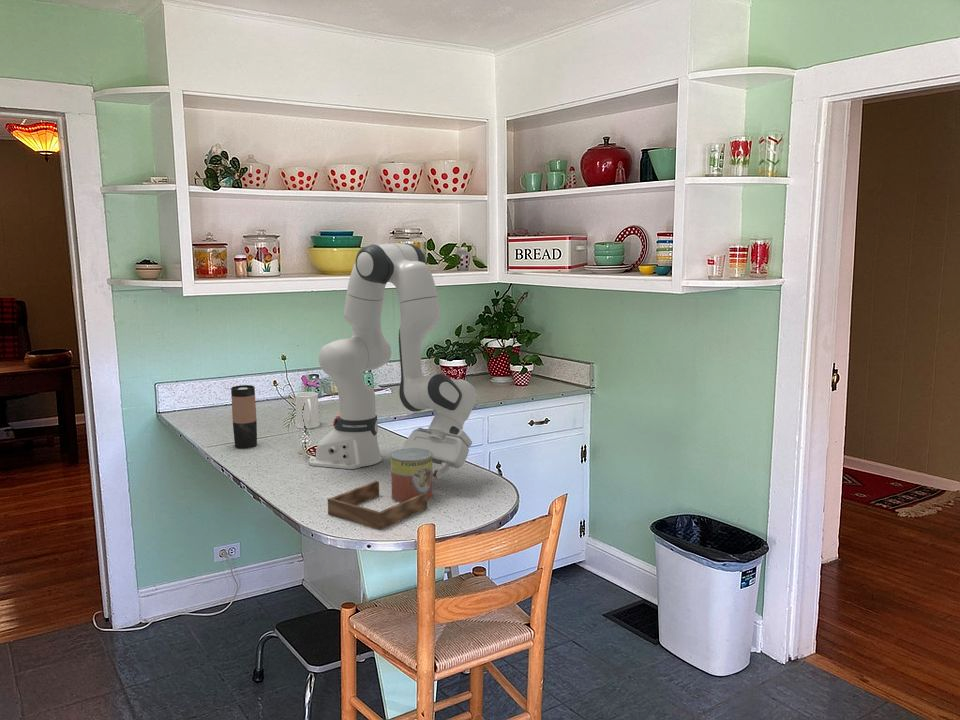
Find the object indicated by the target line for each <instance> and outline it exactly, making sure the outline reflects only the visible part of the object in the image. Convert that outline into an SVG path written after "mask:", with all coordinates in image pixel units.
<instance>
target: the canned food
mask: <svg viewBox="0 0 960 720" xmlns="http://www.w3.org/2000/svg"><path fill="white" fill-rule="evenodd" d="M390 477H391V499H392V501H394V502H396V503H398V502H399V503H401V502H404V501H406V500H408V499H411V498H413V497H415V496H418V495H420V494H422V493H427V502H429V501H430V499H431V500H432V499H433V497H434V493H433V491H434V490H433V463H432V452H431V451H429V450H425V449H418V448H409V449H402V448H400V449H397V450H394V451H392V452H391V453H390ZM399 503H398V504H399Z"/></svg>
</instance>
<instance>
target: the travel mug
mask: <svg viewBox="0 0 960 720" xmlns="http://www.w3.org/2000/svg"><path fill="white" fill-rule="evenodd" d="M255 389H256V388H255V386H254V385H250V384H241V385H236V386H232V387H231V388H230V393H231V411H232V412H231V414H232V418H231V419H232V426H233V428H232V429H233V430H232V431H233V438H234V439H233V441H234V446H235V447H234V448H235V449H239V450H240V449H241V450H244V449H246V450H247V449H252V448H255V447H257V445H258V431H257V430H258V428H257V427H258V425H257V423H258V421H257V420H258V419H257V405H256V404H257V403H256V391H255Z"/></svg>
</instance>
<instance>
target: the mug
mask: <svg viewBox="0 0 960 720" xmlns="http://www.w3.org/2000/svg"><path fill="white" fill-rule="evenodd" d="M318 395H319V393H318V392H317V391H316V392H314V391H302V392H298V393H295V395H294V397H295V418H296V419H295V420H296V423H295V428H297V429H301V430H302V429H303V430H305V429H304V422H305V426H306V428H307V429H306V430H308V429H309V430H310V429H315V428H318V427H320V426H321V424H320V420H319V419H320V418H319V417H320V415H319V414H320V413H319V396H318ZM304 403H305V406H304ZM303 406H304V410H303V418H302V408H303ZM303 419H304V422H303Z"/></svg>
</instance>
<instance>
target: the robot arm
mask: <svg viewBox="0 0 960 720" xmlns="http://www.w3.org/2000/svg"><path fill="white" fill-rule="evenodd" d="M425 259H426V257H425V255H424V252H423V251H422V249H421V248H420V247H419V246H417V245H415V244H412V243H407V242H405V243H399V242H387V243H380V244H370V245H367V246H363V247H362V248H361V249H360V250H359V251H358V252H357V254H356V257H355V263H354V264H353V267H352V269H351V272H350V275H349V280H348V284H347V289H346V296H345V302H344V307H343V309H344V310H343V317H344V319H345V321H346V322H347V324H349V325H350V326H351V327H352V335H351V337H349V338H347V337H346V338H341V339H336V340H333V341H330V342H329V343H327V344H324V345H323V346H322V347H321V349H320V350H319V354H318V362H319V366H320V368H321V370H322V372H324V374H326V375H327V376H329V377H330V378H331V380H332V381H333V383H334V385H335V387H336V391H337V393H338V394H337V395H338V405H339V414H337V415H336V416H335V418H334V419H333V421H332V426H333V429H331V430H330V431H329V432H328V433H326V435H324V436H323V437H322V438H320V440H319V441H318V443H317V445H316V451H315V453H316V457H313V456H312V455H311V456H310V457H309V459H308V464H309V465H310V466H314V467H324V468H334V469H335V468H336V469H344V470H345V469H346V470H356V469H359V468H361V467H368V466H372V465H377V464H378V463H380V462H382V460H383V457H382V454H381V449H380V447H379V445H380V444H379V441H378V432H379V428H378V427H379V425H378V424H379V423H378V422H379V421H378V415H377V413H376V392H375V391H374V389H373V388H372V387H371V386H369V385H367V384H366V382H365V380H364V375H363V372H369V371H372V370H376V369H379V368H381V367H382V366H384V365H386V364H388V362H389V361H390V360H391V357H392V347H391V344H390V342H389V340H388V339H387V338H386V337H385V336H384V334H383V330H382V326H381V325H382V324H381V320H382V319H381V318H382V312H383V305H384V299H385V298H384V297H385V292H386V291H385V290H386V286H387V284H388V283H391V284H393V286H395V289H396V292H397V297H398V303H399V304H398V305H399V310H400V311H399V312H400V325H399V330H398V347H399V349H398V350H399V363H400V365H399V366H400V384H399V388H398V389H399V394H398V395H399V399H400V402H401V404H402V405H403V406H404V408H406V409H407V410H409V411H410V412H417V413H418V412H422V411H425V410H434V412H435V415H434V416H433V418H432V420H431V422H430V424H429V426H428V428H423V427H418V428H416V429H413V431H412V432H411V434H410V435H409V436H408V437H407V439H406V440H405V441H404V443H403V445H402V446H401V449H409V448H418V449H425V450H429V451H431V452H432V464H437V465H441V466H440V467H439V468H438V469H435V470H434V471H433V472H432V478H434V479H438V480H440V479H441V477H442V475H443V474H445V472H447V471H449V469H450V468H454V469H460V468H462V467H463V466H464V464H465V462H466V460H467V457H468V455H469V451H470V449H469V448H470V447H471V446H472V444H473V441H472V439H471V438H470V437H469V435H468V434H467V433H466V432H465V431H464V430H463V429H464V425H465V422H466V421H467V420H468V419H469V417H470V415H471V413H472V411H473V409H474V406H475V403H476V400H477V390H476V389H475V387H474V386H473V384H472V383H470V382H469V381H467V380H465V379H461V378H459V379H455V378H451V377H449V376H448V375H446V374H443V373H432V374H428V375H427V374H426V375H424V374H423V367H422V366H423V365H422V356H421V354H422V353H421V347H422V342H423V340H424V339H425V337H426V335H428V334H429V333H430V332H431V331H432V330H433V329H434V328H435V327H436V325H438V323H439V320H440V315H441V311H440V307H441V306H440V302H439V301H440V300H439V296H438V291H437V287H436V284H435V279H434V276H433V274H432V271H431V269H430V267H429V266H428V265H427V264H426V260H425Z"/></svg>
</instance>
